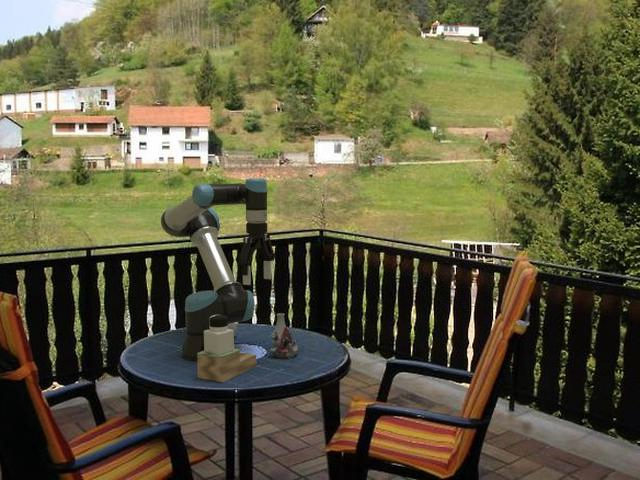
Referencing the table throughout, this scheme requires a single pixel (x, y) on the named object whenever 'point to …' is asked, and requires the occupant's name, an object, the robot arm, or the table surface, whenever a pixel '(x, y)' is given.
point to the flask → (280, 324)
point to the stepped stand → (224, 365)
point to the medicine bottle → (218, 336)
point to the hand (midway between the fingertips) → (257, 281)
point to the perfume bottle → (232, 327)
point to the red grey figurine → (283, 345)
